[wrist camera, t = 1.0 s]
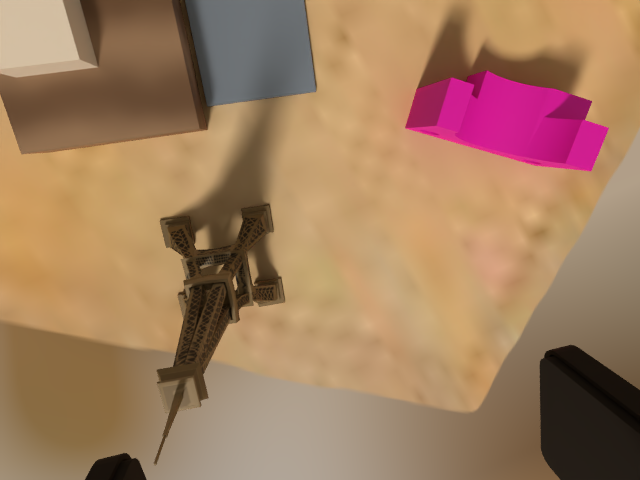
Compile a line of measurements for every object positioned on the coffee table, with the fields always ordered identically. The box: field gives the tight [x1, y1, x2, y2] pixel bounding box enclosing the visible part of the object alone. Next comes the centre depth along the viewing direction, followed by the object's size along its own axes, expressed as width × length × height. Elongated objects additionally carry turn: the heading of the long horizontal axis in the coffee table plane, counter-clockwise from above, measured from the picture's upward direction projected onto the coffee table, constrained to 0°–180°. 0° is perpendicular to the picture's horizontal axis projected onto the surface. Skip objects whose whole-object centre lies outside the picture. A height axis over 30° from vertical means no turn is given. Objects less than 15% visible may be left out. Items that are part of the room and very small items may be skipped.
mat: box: [185, 0, 316, 106], centre depth 33 cm, size 16×10×1 cm, turn 8°
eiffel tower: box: [154, 205, 285, 465], centre depth 27 cm, size 11×11×25 cm
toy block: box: [405, 70, 609, 171], centre depth 35 cm, size 15×6×8 cm, turn 76°
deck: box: [0, 0, 207, 154], centre depth 30 cm, size 20×14×4 cm
